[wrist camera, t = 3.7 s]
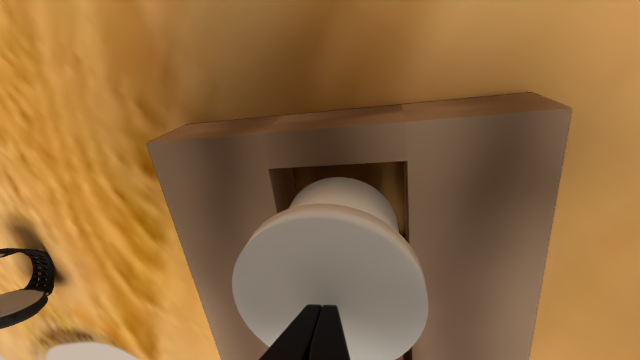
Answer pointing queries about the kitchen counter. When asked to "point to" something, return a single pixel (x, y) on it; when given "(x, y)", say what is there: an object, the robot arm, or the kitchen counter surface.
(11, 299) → the smartwatch
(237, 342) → the socket board
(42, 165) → the kitchen counter surface
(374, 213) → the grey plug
